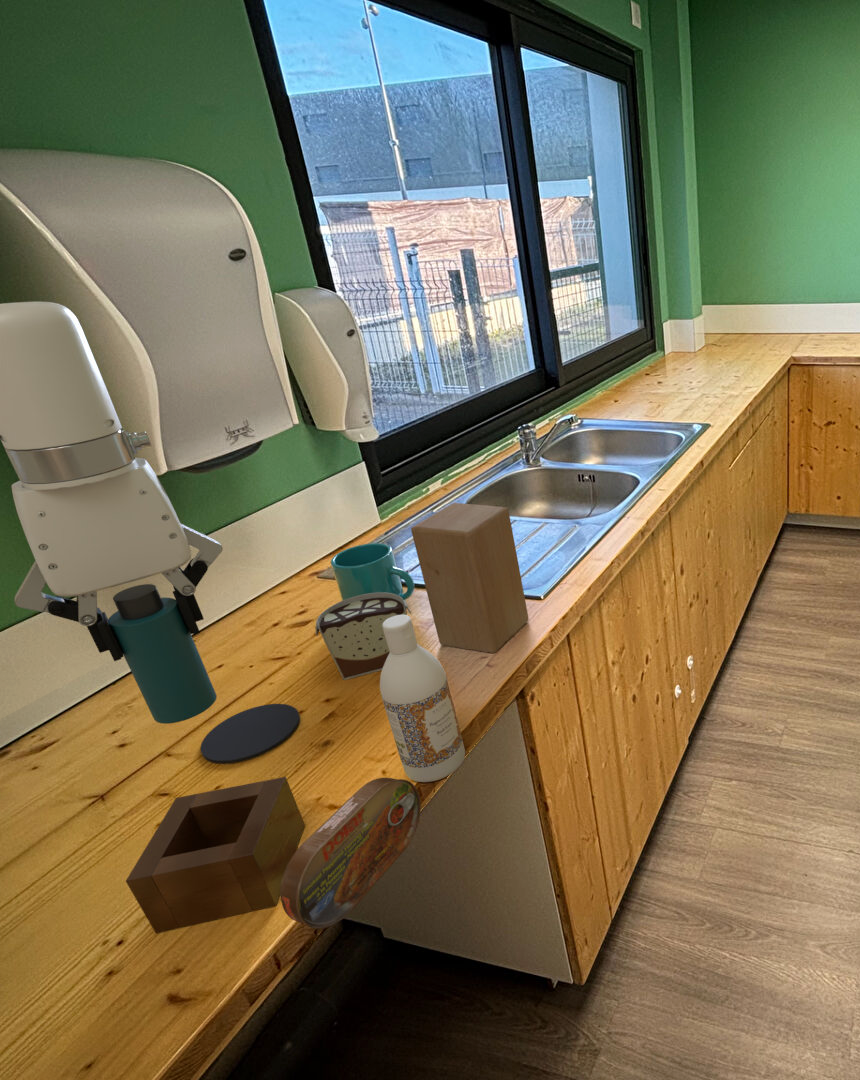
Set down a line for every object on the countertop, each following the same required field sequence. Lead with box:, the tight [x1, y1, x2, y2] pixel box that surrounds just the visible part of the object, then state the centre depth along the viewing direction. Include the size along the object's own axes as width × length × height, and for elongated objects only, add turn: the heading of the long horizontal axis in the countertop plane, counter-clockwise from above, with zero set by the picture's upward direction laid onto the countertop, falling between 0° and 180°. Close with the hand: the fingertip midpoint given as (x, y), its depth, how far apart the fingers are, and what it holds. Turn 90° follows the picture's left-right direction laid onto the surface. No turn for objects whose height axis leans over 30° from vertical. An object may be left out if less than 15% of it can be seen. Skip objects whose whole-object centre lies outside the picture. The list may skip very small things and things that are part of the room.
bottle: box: [108, 583, 218, 725], centre depth 67 cm, size 5×5×13 cm
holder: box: [125, 776, 306, 934], centre depth 69 cm, size 10×10×7 cm
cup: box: [330, 542, 416, 603], centre depth 114 cm, size 9×12×11 cm
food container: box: [314, 592, 412, 681], centre depth 102 cm, size 12×6×10 cm, turn 116°
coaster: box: [200, 703, 301, 765], centre depth 90 cm, size 11×11×1 cm
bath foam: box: [379, 614, 466, 783], centre depth 80 cm, size 7×7×20 cm
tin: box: [279, 777, 422, 930], centre depth 68 cm, size 15×3×8 cm, turn 161°
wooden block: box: [410, 502, 529, 654], centre depth 106 cm, size 10×10×20 cm
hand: (155, 639), depth 66 cm, fingers closed on bottle, 5 cm apart
